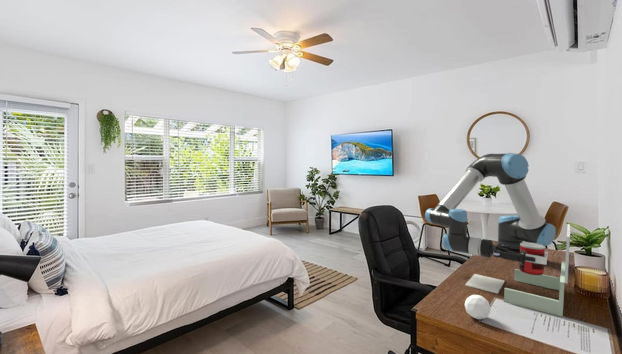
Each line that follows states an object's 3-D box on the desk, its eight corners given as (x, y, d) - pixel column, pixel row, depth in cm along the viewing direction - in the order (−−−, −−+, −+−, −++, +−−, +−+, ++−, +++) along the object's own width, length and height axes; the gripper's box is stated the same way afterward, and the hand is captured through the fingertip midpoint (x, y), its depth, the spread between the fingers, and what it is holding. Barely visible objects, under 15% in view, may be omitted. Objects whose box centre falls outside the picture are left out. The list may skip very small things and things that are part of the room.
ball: (473, 327, 102) (461, 310, 101) (470, 308, 109) (459, 292, 107) (497, 322, 98) (484, 304, 97) (492, 303, 105) (480, 286, 104)
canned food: (521, 266, 126) (522, 241, 125) (545, 271, 120) (546, 244, 119) (517, 271, 120) (518, 244, 120) (542, 277, 115) (543, 248, 114)
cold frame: (514, 279, 136) (517, 218, 134) (566, 291, 124) (570, 224, 123) (504, 301, 115) (506, 229, 113) (565, 317, 103) (569, 237, 101)
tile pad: (474, 275, 141) (474, 273, 141) (504, 281, 133) (504, 280, 133) (465, 285, 129) (465, 284, 129) (497, 293, 121) (497, 292, 121)
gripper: (486, 250, 140) (548, 261, 125) (475, 261, 124) (545, 275, 109) (486, 234, 139) (549, 243, 124) (475, 244, 124) (546, 255, 109)
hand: (547, 258), depth 117 cm, fingers closed on canned food, 8 cm apart
